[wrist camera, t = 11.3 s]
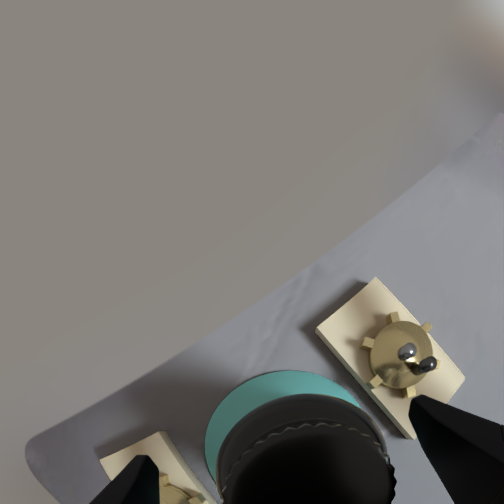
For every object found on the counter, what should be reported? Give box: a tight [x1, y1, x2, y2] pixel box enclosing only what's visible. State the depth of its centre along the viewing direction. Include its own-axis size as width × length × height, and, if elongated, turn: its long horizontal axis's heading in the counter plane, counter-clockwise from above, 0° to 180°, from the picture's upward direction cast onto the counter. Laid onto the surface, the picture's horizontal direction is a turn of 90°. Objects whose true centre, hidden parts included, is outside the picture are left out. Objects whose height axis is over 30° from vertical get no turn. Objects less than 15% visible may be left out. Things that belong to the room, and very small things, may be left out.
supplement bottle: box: [215, 393, 397, 504], centre depth 10 cm, size 7×7×12 cm
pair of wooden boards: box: [99, 277, 465, 504], centre depth 15 cm, size 25×11×1 cm, turn 125°
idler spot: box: [205, 371, 361, 482], centre depth 15 cm, size 11×11×1 cm
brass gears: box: [159, 311, 441, 504], centre depth 13 cm, size 25×6×3 cm, turn 125°
